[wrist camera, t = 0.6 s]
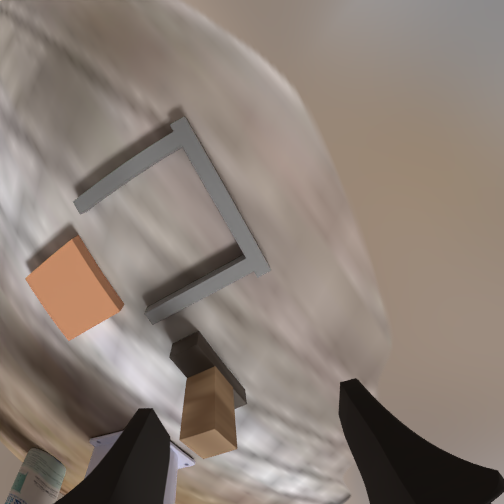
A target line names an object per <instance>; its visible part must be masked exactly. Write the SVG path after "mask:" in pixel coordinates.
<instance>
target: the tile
mask: <svg viewBox="0 0 504 504" xmlns="http://www.w3.org/2000/svg"><path fill="white" fill-rule="evenodd" d="M25 279H26V281H27V282H28V284H29V286H30V287H31V289H32V290H33V292H34V293H35V295H36V296H37V298H38V299H39V301H40V302H41V304H42V305H43V307H44V308H45V310H46V311H47V312H48V314H49V315H50V317H51V318H52V319H53V321H54V322H55V324H56V325H57V326H58V328H59V329H60V330H61V332H62V333H63V334H64V335H65V337H66V338H67V339H68V341H70V340H71V339H73V338H75V337H77V336H78V335H80V334H82V333H83V332H85V331H87V330H89V329H90V328H92V327H94V326H96V325H97V324H99V323H101V322H102V321H104V320H106V319H108V318H109V317H111V316H113V315H115V314H116V313H118V312H120V311H121V309H122V307H123V306H124V303H123V302H122V300H121V299H120V297H119V296H118V295H117V293H116V292H115V290H114V289H113V287H112V286H111V285H110V283H109V282H108V280H107V279H106V277H105V276H104V274H103V273H102V271H101V270H100V268H99V267H98V265H97V264H96V262H95V260H94V259H93V257H92V256H91V254H90V253H89V251H88V249H87V248H86V246H85V244H84V243H83V241H82V239H81V238H80V236H79V235H78V236H76V237H75V238H73V239H71V240H70V241H69V242H68V243H66V244H65V245H64V246H63V247H61V248H60V249H59V250H58V251H56V252H55V253H54V254H53V255H52V256H50V257H49V258H48V259H47V260H46V261H45V262H43V263H42V264H41V265H40V266H39V267H38V268H36V269H35V270H34V271H33V272H32V273H31V274H30V275H29V276H27V277H26V278H25Z"/></svg>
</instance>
